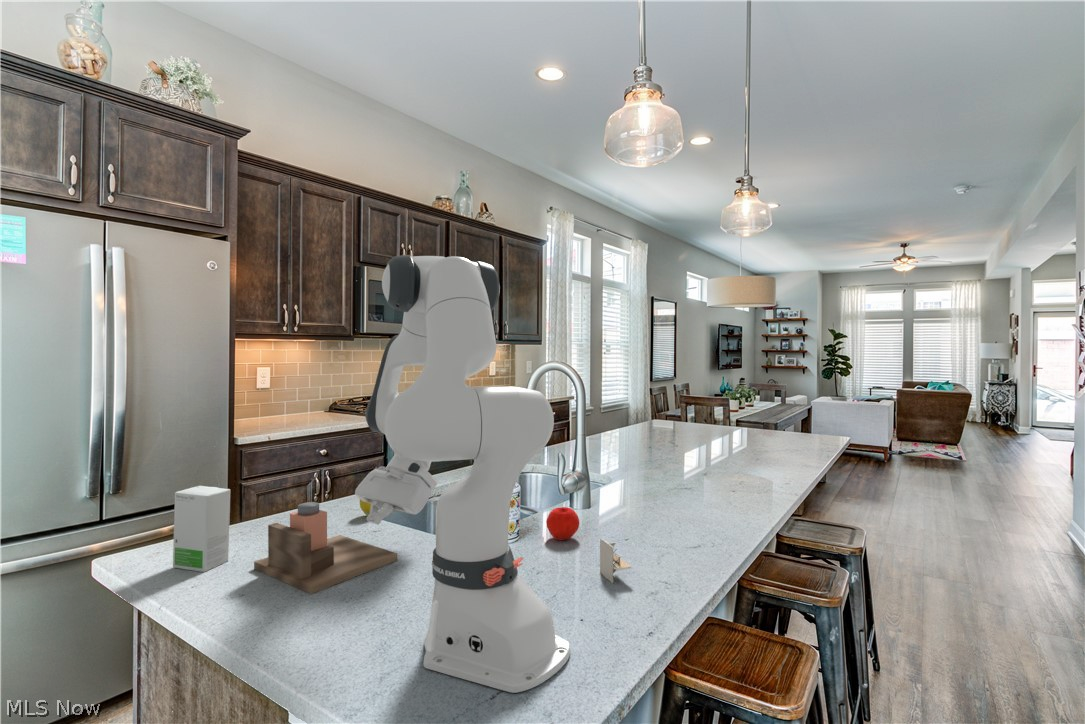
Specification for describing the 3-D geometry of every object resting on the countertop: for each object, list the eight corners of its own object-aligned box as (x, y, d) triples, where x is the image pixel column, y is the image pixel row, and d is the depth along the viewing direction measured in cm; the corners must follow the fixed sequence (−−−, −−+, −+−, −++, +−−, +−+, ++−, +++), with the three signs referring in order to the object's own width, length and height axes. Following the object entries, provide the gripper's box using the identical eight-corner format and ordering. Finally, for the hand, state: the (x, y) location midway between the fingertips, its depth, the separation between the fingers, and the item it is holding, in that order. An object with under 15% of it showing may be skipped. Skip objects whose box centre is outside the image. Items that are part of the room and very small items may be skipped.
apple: (566, 547, 126) (566, 514, 126) (539, 539, 131) (539, 508, 130) (585, 537, 132) (585, 506, 132) (558, 531, 137) (558, 501, 137)
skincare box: (171, 568, 112) (171, 492, 112) (199, 556, 119) (198, 484, 119) (205, 572, 110) (205, 495, 110) (231, 560, 117) (231, 487, 117)
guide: (397, 560, 117) (397, 515, 117) (310, 593, 101) (310, 542, 101) (340, 541, 129) (339, 500, 129) (254, 568, 112) (253, 522, 112)
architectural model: (614, 572, 113) (615, 535, 113) (631, 585, 106) (631, 547, 106) (599, 574, 112) (599, 537, 112) (615, 588, 105) (615, 549, 105)
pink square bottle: (327, 561, 112) (327, 504, 112) (304, 568, 108) (304, 509, 108) (312, 555, 115) (312, 500, 115) (290, 563, 111) (289, 505, 111)
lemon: (374, 519, 146) (374, 489, 146) (355, 518, 147) (355, 488, 147) (384, 513, 151) (384, 484, 151) (366, 512, 152) (366, 483, 152)
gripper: (370, 458, 136) (335, 506, 128) (428, 468, 124) (393, 523, 116) (384, 472, 140) (351, 521, 132) (442, 484, 128) (410, 538, 120)
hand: (372, 522), depth 124 cm, fingers closed
